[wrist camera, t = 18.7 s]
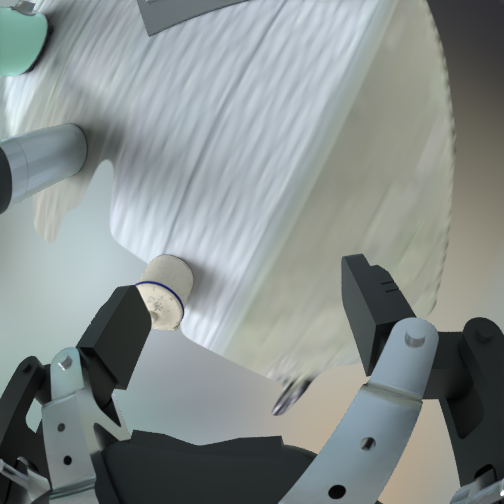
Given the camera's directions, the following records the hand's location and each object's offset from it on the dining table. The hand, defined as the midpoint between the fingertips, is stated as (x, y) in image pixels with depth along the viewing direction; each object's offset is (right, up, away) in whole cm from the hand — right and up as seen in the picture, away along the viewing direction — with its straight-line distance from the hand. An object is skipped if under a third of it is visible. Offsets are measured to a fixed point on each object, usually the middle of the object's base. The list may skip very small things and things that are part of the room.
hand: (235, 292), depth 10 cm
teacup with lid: (-13, -4, +37) cm, 40 cm away
